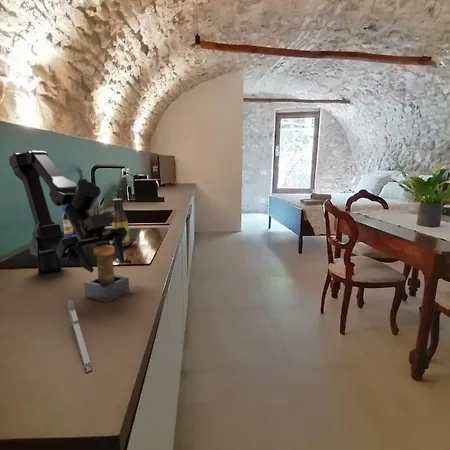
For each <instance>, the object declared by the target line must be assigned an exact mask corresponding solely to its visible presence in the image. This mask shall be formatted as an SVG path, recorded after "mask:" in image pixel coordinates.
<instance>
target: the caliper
mask: <svg viewBox="0 0 450 450" xmlns="http://www.w3.org/2000/svg"><path fill="white" fill-rule="evenodd" d="M67 303H68V304H67V305H68V306H67V307H68V318H69V325H70V328H71V329H72V330H73V332H74V336H75V339H76V343H77V347H78V350H79V353H80V357H82V358H81V361H82V360H83V361H82V364H83V363H84V365H83V367H84V366H85V367H87V366H88V367H89V365H90V366H91V367H92V364H91V359H90V356H89V353H88V349H87V346H86V342H85V340H84V336H83V333H82V329H81V326H80V322H79V318H78V315H77V312H76V308H75V302H74V299H70V300H68V301H67ZM72 327H73V328H72Z"/></svg>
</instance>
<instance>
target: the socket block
mask: <svg viewBox="0 0 450 450" xmlns="http://www.w3.org/2000/svg"><path fill="white" fill-rule="evenodd" d="M114 280H115V282H113V283H110V284H108V285H102V284H99V279H98V276H96V277H94V278H92V279H89V280H86V281H85V282H84V283H83V285H84V286H83V287H84V295H85V297H86V298H89V299H94V300H97V301H98V302H102V303H108V302H111V301H113V300H115V299H117V298H119V297H121V296H123V295H125V294H128V293H130V281H129V277H126V276H122V275H118V274H114Z"/></svg>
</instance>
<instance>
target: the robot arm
mask: <svg viewBox="0 0 450 450" xmlns="http://www.w3.org/2000/svg"><path fill="white" fill-rule="evenodd" d="M8 160H9V161H8V162H9V166H10V167H11V168H12V170H13V174H14V176H16V177H17V178H18V179H19V180H20V181H21V182H22V184H23V186H24V187H23V188H24V192H25V195H26V197H27V201H28V204H29V208H30V210H31V215H32V218H33V221H34V227H33V231H32V233H31V235H32V240H31V242H30V245H29V247H28V250H29V252H30V255H32V256H35V257H36V262H37V274H38V275H43V274H51V273H58V272H61V271H62V268H63V265H62V259H64V260H65V261H71V262H72V263H75V264H77V265H79V266H80V267H81V268H83V269H85V270H86V271H87V272H90V273H93V272H94V268H93V265H92V263H91V262H90V260H89V257H87V255H86V253H85V250H84V248H85V247H90V246H94V245H98V244H104V243H107V244H106V245H111V246H114V251H115V253H114V254H113V255H114V257H116V259H117V260H118V261H119V263H121V264H123V263H125V256H124V250H123V247H122V241H123V240H124V238H125V237H126V235H127V234H128V232H127V230H126V229H125V227H117V228H113V227H112V228H110V231H109V232H108V233H107V234H103V233H105V231H106V227H108V226H110V225H111V224H112V222H113V221H114V217H113V215H112V214H113V212H111V210H106V211H103V212H102V213H100V214H98V215H93V216H91V214H90V212H89V211H88V210H91V209H92V208H93V206H94V205H95V203H96V201H97V199H98V198H99V197H100V195H101V188H100V187H99V186H97V184H95V183H93V182H90V181H88V179H87V178H80V179H78V181H77V184H76V183H75V181H73V180H70V179H68V178H66V177H65V176H64V174H63V173H62V172H61V171H60V170H59V169H58V168H57V166H56V165H55V163H54V162H53V161H52V160H51V159H50V157H49V155H48V152H47V151H44V150H28V151H26V152H13V153H12V155H11V156H10V157H9V159H8ZM40 177H41V179H43V181H44V182H45V183H46V185H47V186H48V188H49V193H48V195H49V197H50V200H51V202H52V203H53V204H54V205H55V206H56V207H63V206H65V205H67V207H66V208H65V211H64V215H63V218H62V220H63V219H68V220H69V221H70V223H71V225H72V227H73V228H74V229H73V231H72V232H73V234H77V236H78V237H79V239H78V237H77V236H71V237H66V238H65V236H64V234H63V232H62V228H61V227H62V226H61V225H60V224H59V223H56V222H54V221H53V220H52V216H51V214H50V210H49V206H48V204H47V200H46V197H45V196H46V195H45V194H44V190H43V189H44V188H43V186H42V182H41V179H40ZM98 200H99V199H98Z"/></svg>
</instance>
